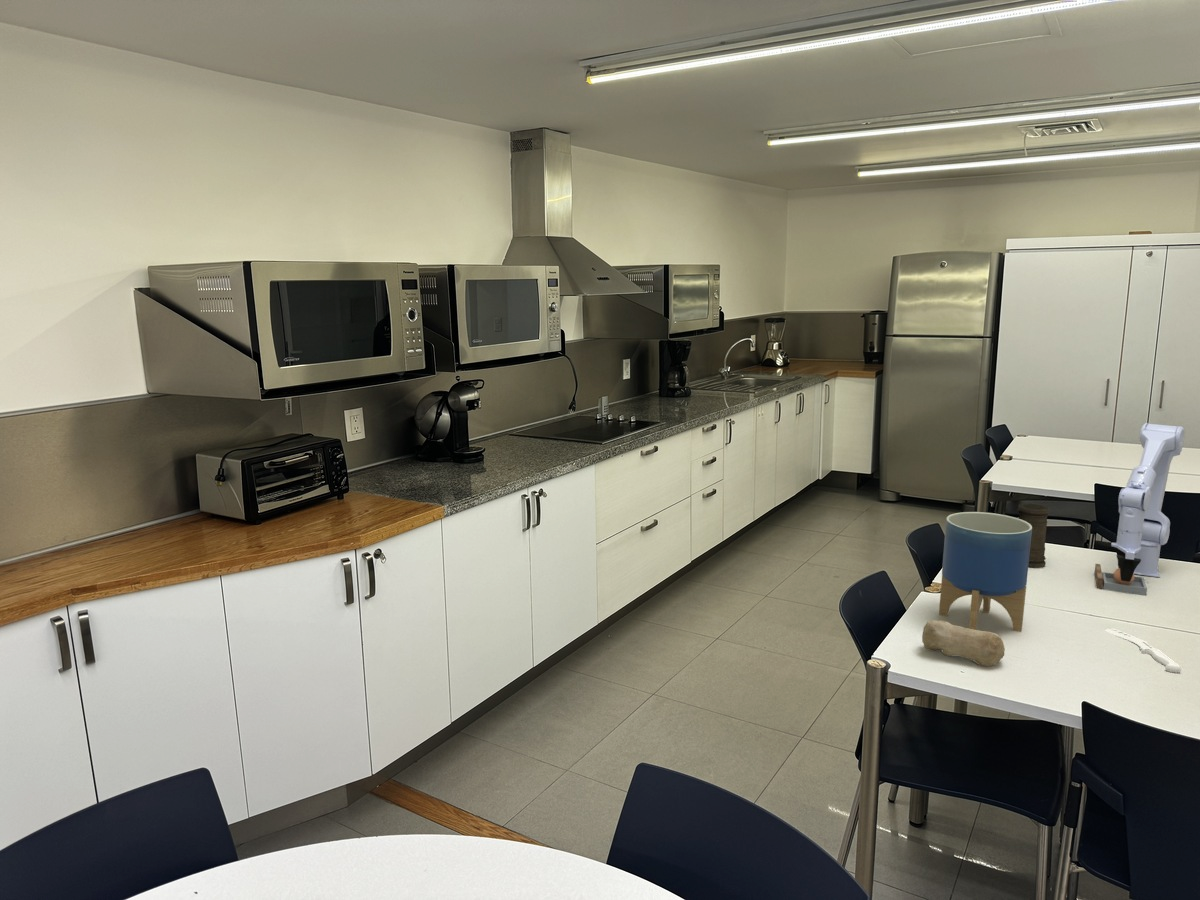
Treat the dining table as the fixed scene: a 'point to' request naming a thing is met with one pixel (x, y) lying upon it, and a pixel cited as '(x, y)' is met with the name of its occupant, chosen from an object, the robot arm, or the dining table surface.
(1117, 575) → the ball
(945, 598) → the planter
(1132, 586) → the tray
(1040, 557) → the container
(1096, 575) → the rail
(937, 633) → the tan rounded lump
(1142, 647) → the knife
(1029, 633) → the dining table surface
